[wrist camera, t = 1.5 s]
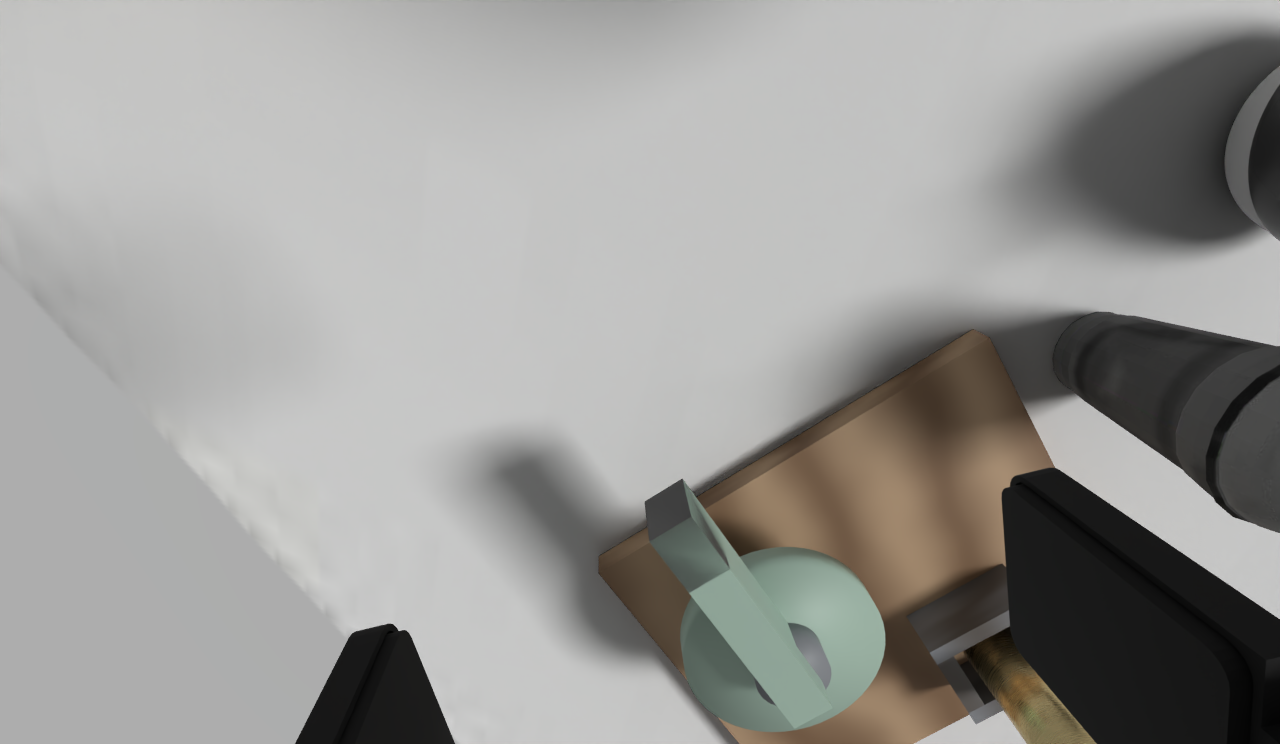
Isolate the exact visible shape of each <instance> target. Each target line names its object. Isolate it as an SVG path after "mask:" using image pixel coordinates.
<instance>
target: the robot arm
mask: <svg viewBox="0 0 1280 744" xmlns="http://www.w3.org/2000/svg"><path fill="white" fill-rule="evenodd" d="M1001 499H1002V514H1003V529H1004V544H1005V559H1006V574H1007V589H1008V604H1009V619H1010V630H1011V635H1012V638H1013V641H1014V643H1015V646H1016V648H1017V649H1018V651H1019V653H1020V654H1021V655H1022V657H1023V658H1024V659H1025V660H1026V661H1027V663H1028V664H1029V665H1030V666H1031V667H1032V668H1033V670H1034V671H1035V672H1036V673H1037V674H1038V675H1039V677H1040V678H1041V679H1042V680H1043V681H1044V682H1045V684H1046V685H1047V686H1048V687H1049V688H1050V690H1051V691H1052V692H1053V693H1054V694H1055V695H1056V697H1057V698H1058V699H1059V700H1060V701H1061V702H1062V704H1063V705H1064V706H1065V707H1066V708H1067V709H1068V711H1069V712H1070V713H1071V714H1072V715H1073V717H1074V718H1075V719H1076V720H1077V721H1078V722H1079V724H1080V725H1081V726H1082V727H1083V728H1084V729H1085V731H1086V732H1087V733H1088V734H1089V735H1090V736H1091V738H1092V739H1093V740H1094V741H1095V742H1096V743H1097V744H1280V619H1278V618H1277V617H1275V616H1274V615H1272V614H1271V613H1269V612H1268V611H1267V610H1265V609H1264V608H1262V607H1261V606H1259V605H1258V604H1256V603H1255V602H1253V601H1252V600H1250V599H1249V598H1247V597H1246V596H1244V595H1243V594H1241V593H1240V592H1239V591H1237V590H1236V589H1234V588H1233V587H1231V586H1230V585H1228V584H1227V583H1225V582H1224V581H1222V580H1221V579H1219V578H1218V577H1216V576H1215V575H1213V574H1212V573H1211V572H1209V571H1208V570H1206V569H1205V568H1203V567H1202V566H1200V565H1199V564H1197V563H1196V562H1194V561H1193V560H1191V559H1190V558H1188V557H1187V556H1185V555H1184V554H1183V553H1181V552H1180V551H1178V550H1177V549H1175V548H1174V547H1172V546H1171V545H1169V544H1168V543H1166V542H1165V541H1163V540H1162V539H1160V538H1159V537H1157V536H1156V535H1155V534H1153V533H1152V532H1150V531H1149V530H1147V529H1146V528H1144V527H1143V526H1141V525H1140V524H1138V523H1137V522H1135V521H1134V520H1132V519H1131V518H1129V517H1128V516H1127V515H1125V514H1124V513H1122V512H1121V511H1119V510H1118V509H1116V508H1115V507H1113V506H1112V505H1110V504H1109V503H1107V502H1106V501H1104V500H1103V499H1101V498H1100V497H1099V496H1097V495H1096V494H1094V493H1093V492H1091V491H1090V490H1088V489H1087V488H1085V487H1084V486H1082V485H1081V484H1079V483H1078V482H1076V481H1075V480H1073V479H1072V478H1071V477H1069V476H1068V475H1066V474H1065V473H1063V472H1062V471H1060V470H1058V469H1056V468H1045V469H1041V470H1037V471H1033V472H1028V473H1024V474H1020V475H1016V476H1014V477H1013V478H1012V479H1011V482H1010V487H1007V488H1005V489H1003V491H1002V497H1001ZM295 744H455V743H454V740H453V738H452V735H451V733H450V731H449V728H448V726H447V723H446V721H445V718H444V716H443V713H442V711H441V709H440V706H439V704H438V701H437V699H436V696H435V694H434V692H433V689H432V687H431V684H430V682H429V679H428V677H427V674H426V672H425V670H424V667H423V665H422V662H421V660H420V657H419V655H418V652H417V650H416V648H415V645H414V643H413V640H412V638H411V636H410V634H409V633H408V632H407V631H405V630H402V631H398V629H397V628H396V627H395V626H394V625H393V624H386V625H381V626H377V627H373V628H369V629H364V630H360V631H356V632H354V633H352V634H351V636H350V637H349V639H348V641H347V643H346V645H345V647H344V648H343V651H342V652H341V655H340V656H339V658H338V660H337V662H336V664H335V666H334V668H333V670H332V673H331V674H330V676H329V678H328V680H327V682H326V684H325V686H324V688H323V690H322V692H321V694H320V696H319V698H318V700H317V702H316V704H315V706H314V708H313V710H312V712H311V713H310V716H309V718H308V719H307V721H306V723H305V726H304V728H303V730H302V731H301V733H300V735H299V737H298V739H297V741H296V743H295Z"/></svg>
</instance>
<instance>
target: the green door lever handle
mask: <svg viewBox="0 0 1280 744" xmlns="http://www.w3.org/2000/svg"><path fill="white" fill-rule="evenodd" d="M645 509H646V518H647V526H648V535H649V542H650V544H651V545H652V546H653V547H654V549H655V550H656V551H657V553H658V554H659V555H660V556H661V558H662V559H663V560H664V562H665V563H666V564H667V565H668V567H669V568H670V569H671V571H672V572H673V573H674V574H675V576H676V577H677V578H678V580H679V581H680V582H681V583H682V585H683V586H684V587H685V589H686V590H687V591H688V592H689V594H690V595H691V596H692V597H691V599H690V601H689V603H688V605H687V607H686V609H685V612H684V615H683V618H682V623H681V628H680V642H681V650H682V656H683V663H684V669H685V674H686V677H687V681H688V684H689V686H690V688H691V690H692V692H693V693H694V695H695V696H696V698H697V699H698V700H699V702H700V703H701V704H702V705H703V706H704V707H705V708H706V709H707V710H709V711H710V712H711V713H712V714H714V715H715V716H717V717H718V718H720V719H722V720H724V721H725V722H728V723H730V724H732V725H735V726H738V727H741V728H744V729H748V730H754V731H761V732H785V731H792V730H798V729H802V728H806V727H810V726H813V725H816V724H819V723H821V722H823V721H826V720H828V719H830V718H832V717H834V716H835V715H837V714H839V713H840V712H842V711H844V710H845V709H846V708H848V707H849V706H850V705H851V704H853V703H854V702H855V701H856V700H857V699H858V698H859V697H860V696H861V695H862V694H863V693H864V692H865V691H866V689H867V688H868V687H869V686H870V684H871V683H872V681H873V679H874V678H875V676H876V674H877V672H878V670H879V668H880V666H881V663H882V659H883V656H884V650H885V630H884V624H883V621H882V618H881V615H880V612H879V611H878V609H877V607H876V605H875V603H874V602H873V600H872V598H871V597H870V595H869V593H868V591H867V590H866V588H865V586H864V585H863V583H862V582H861V580H860V579H859V578H858V576H857V575H856V574H855V573H854V572H853V571H852V570H851V569H850V568H849V567H847V566H846V565H845V564H843V563H842V562H840V561H839V560H837V559H835V558H833V557H831V556H829V555H827V554H824V553H821V552H818V551H815V550H810V549H806V548H798V547H775V548H768V549H763V550H759V551H755V552H751V553H748V554H746V555H743V556H740V557H739V556H738V554H737V553H736V551H735V550H734V549H733V547H732V546H731V545H730V543H729V542H728V540H727V539H726V538H725V536H724V535H723V534H722V532H721V531H720V529H719V528H718V527H717V525H716V524H715V523H714V521H713V520H712V518H711V517H710V516H709V514H708V513H707V512H706V510H705V509H704V508H703V506H702V505H701V503H700V502H699V501H698V499H697V498H696V497H695V495H694V494H693V492H692V491H691V490H690V488H689V487H688V486H687V484H686V483H685V481H684V480H683V479H681V480H679V481H678V482H676V483H674V484H673V485H671V486H670V487H668V488H666V489H665V490H663V491H661V492H660V493H658V494H657V495H655V496H653V497H652V498H650V499H648V500H647V501H645Z"/></svg>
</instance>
